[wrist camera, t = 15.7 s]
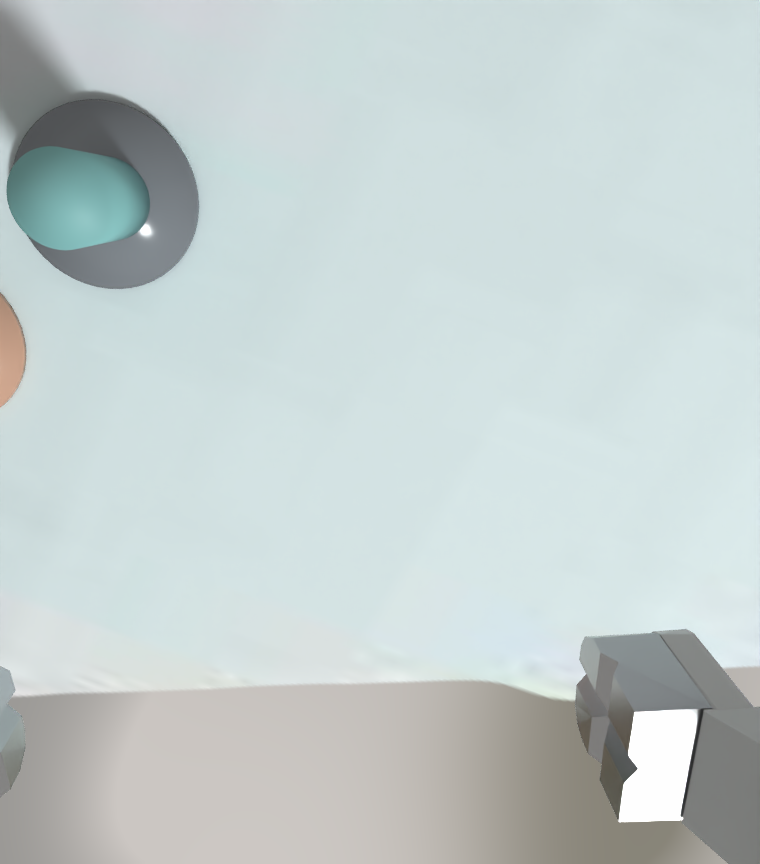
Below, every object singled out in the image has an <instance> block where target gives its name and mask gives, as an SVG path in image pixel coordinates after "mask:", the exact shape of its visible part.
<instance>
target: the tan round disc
mask: <svg viewBox="0 0 760 864" xmlns="http://www.w3.org/2000/svg"><path fill="white" fill-rule="evenodd" d="M25 364H26V344H25V338H24V334H23V331H22V327H21V325H20V323H19V320H18V318H17V316H16V314H15V312H14V311H13V309H12V307H11V306H10V304H9V303H8V301H7V300H6V299H5V297H4V296H3V295H2V294H1V293H0V407H1V406H3V405H4V404H5V403H6V402H7V401H8V400H9V399H10V398H11V397H12V396H13V394H14V393H15V391H16V390H17V388H18V386H19V384H20V382H21V380H22V377H23V374H24V371H25Z"/></svg>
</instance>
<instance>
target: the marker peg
mask: <svg viewBox="0 0 760 864" xmlns="http://www.w3.org/2000/svg"><path fill="white" fill-rule="evenodd" d="M7 200H8V204H9V208H10V211H11V213H12V215H13V217H14V219H15V221H16V222H17V224H18V225H19V227H20V228H21V229H22V230H23V231H24V232H25V233H26V234H27V235H28V236H29V237H30V238H32V239H33V240H35V241H36V242H38V243H40V244H42V245H44V246H46V247H49V248H52V249H57V250H74V249H79V248H84V247H88V246H93V245H98V244H103V243H107V242H112V241H117V240H121V239H126V238H128V237H130V236H132V235H134V234H135V233H137V232H138V231H139V230H140V229H141V228H142V227H143V225H144V224H145V222H146V220H147V218H148V215H149V210H150V197H149V192H148V189H147V186H146V184H145V182H144V180H143V179H142V177H141V176H140V174H139V173H138V172H137V171H136V170H135V169H134V168H133V167H132V166H130V165H129V164H127V163H126V162H124V161H122V160H120V159H117V158H114V157H108V156H103V155H98V154H93V153H88V152H82V151H77V150H72V149H67V148H62V147H56V146H46V147H40V148H36V149H33V150H31V151H29V152H27V153H25V154H24V155H23V156H22V157H20V158H19V159H18V161H17V162H16V163H15V164H14V166H13V167H12V169H11V172H10V174H9V177H8V181H7Z"/></svg>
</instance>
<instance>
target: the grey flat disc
mask: <svg viewBox="0 0 760 864" xmlns="http://www.w3.org/2000/svg"><path fill="white" fill-rule="evenodd" d="M46 146H56V147H62V148H67V149H72V150H77V151H82V152H88V153H93V154H98V155H103V156H108V157H114V158H117V159H120V160H122V161H124V162H126V163H127V164H129V165H130V166H132V167H133V168H134V169H135V170H136V171H137V172H138V173H139V174H140V176H141V177H142V179H143V180H144V182H145V184H146V186H147V189H148V192H149V197H150V210H149V215H148V218H147V220H146V222H145V224H144V225H143V227H142V228H141V229H140V230H139V231H138V232H137V233H135V234H134V235H132V236H130V237H128V238H126V239H121V240H117V241H112V242H107V243H103V244H98V245H93V246H88V247H84V248H79V249H74V250H57V249H52V248H49V247H46V246H44V245H42V244H40V243H38V242H36V241H35V240H33V239H32V238H30V237H29V236H28V235H27V236H28V237H29V239H30V240H31V242H32V243H33V245H34V246H35V247H36V249H37V250H38V251H39V252H40V253H41V254H42V255H43V257H44V258H46V259H47V260H48V261H49V262H50V263H51V264H52V265H53V266H55V267H56V268H57V269H59V270H60V271H62V272H63V273H65V274H67V275H68V276H70V277H72V278H74V279H76V280H78V281H81V282H83V283H86V284H89V285H93V286H96V287H102V288H108V289H123V288H132V287H136V286H140V285H144V284H146V283H149V282H151V281H154V280H155V279H157V278H159V277H161V276H162V275H164V274H165V273H167V272H168V271H169V270H171V269H172V268H173V267H174V266H175V265H176V264H177V263H178V262H179V261H180V260H181V258H182V257H183V255H184V254H185V253H186V251H187V249H188V248H189V246H190V244H191V242H192V239H193V237H194V234H195V231H196V226H197V222H198V213H199V198H198V191H197V185H196V181H195V178H194V174H193V171H192V169H191V167H190V164H189V162H188V160H187V158H186V156H185V155H184V153H183V151H182V150H181V148H180V147H179V145H178V144H177V143H176V141H175V140H174V139H173V138H172V137H171V136H170V134H169V133H168V132H167V131H166V130H165V129H164V128H163V127H161V126H160V125H159V124H158V123H156V122H155V121H154V120H153V119H151V118H149V117H148V116H146V115H145V114H143V113H141V112H139V111H137V110H135V109H133V108H131V107H128V106H125V105H122V104H119V103H116V102H111V101H106V100H92V99H91V100H80V101H75V102H71V103H67V104H64V105H62V106H59V107H57V108H55V109H53V110H52V111H50V112H48V113H46V114H45V115H44V116H43V117H41V118H40V119H39V120H38V121H37V122H36V123H35V124H34V125H33V126H32V127H31V128H30V129H29V131H28V132H27V134H26V135H25V137H24V138H23V140H22V142H21V144H20V146H19V149H18V151H17V154H16V158H15V161H14V164H15V163H16V162H17V161H18V159H19V158H20V157H22V156H23V155H24V154H25V153H27V152H29V151H31V150H33V149H36V148H40V147H46Z"/></svg>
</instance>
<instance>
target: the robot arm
mask: <svg viewBox="0 0 760 864" xmlns="http://www.w3.org/2000/svg"><path fill="white" fill-rule="evenodd" d="M579 660H580V662H581V664H582V666H583V668H584V670H585V672H586V675H585V676H584V677H583V679H582V680H581V681H580V682H579V683H578V684H577V687H576V700H575V707H576V716H577V724H578V727H579V731H580V734H581V738H582V741H583V743H584V746H585V748H586V750H587V752H588V754H589V755H591V756H592V757H593V758H595V759H596V760H598V761H599V762H600V763H601V764H602V765H601V773H600V782H601V784H602V786H603V788H604V791H605V793H606V795H607V797H608V799H609V801H610V804H611V806H612V808H613V810H614V812H615V815H616V817H617V819H618V821H619V822H630V821H657V820H682V823H683V824H684V825H685V826H686V827H687V828H688V829H689V830H691V831H692V832H693V833H694V834H695V835H696V836H697V837H698V838H700V839H701V840H702V841H703V842H704V843H705V844H707V845H708V846H709V847H710V848H711V849H712V850H713V851H714V852H716V853H717V854H718V855H719V856H720V857H721V858H722V859H724V860H725V861H726V862H727V863H728V864H760V707H753V705H752V704H751V703H750V702H749V701H748V699H747V698H746V697H745V696H744V694H743V693H742V692H741V691H740V689H739V688H738V687H737V686H736V685H735V683H734V682H733V681H732V680H731V678H730V677H729V676H728V675H727V673H726V672H725V671H724V670H723V669H722V667H721V666H720V665H719V664H718V662H717V661H716V660H715V659H714V657H713V656H712V655H711V654H710V653H709V651H708V650H707V649H706V648H705V646H704V645H703V644H702V643H701V641H700V640H699V639H698V638H697V637H696V635H695V634H694V633H693V632H691V631H689V630H687V629H681V630H668V631H655V632H652V633H641V634H624V635H606V636H588V637H585V638H584V640H583V642H582V645H581V651H580V659H579ZM14 692H15V687H14V684H13V680H12V677H11V674H10V671H9V670H7V669H5V668H3V667H1V666H0V797H1V796H2V795H4V794H5V793H6V792H8V791H9V790H10V789H11V787H12V785H13V783H14V781H15V779H16V777H17V775H18V773H19V772H20V768H21V764H22V759H23V756H24V752H25V728H24V723H23V719H22V716H21V715H20V714H19V713H18V712H16V711H15V710H14V709H13V708H12V707H10V706H9V705H8V704H7V703H8V701H9V700H10V698H11V697H12V695H13V693H14Z"/></svg>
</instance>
